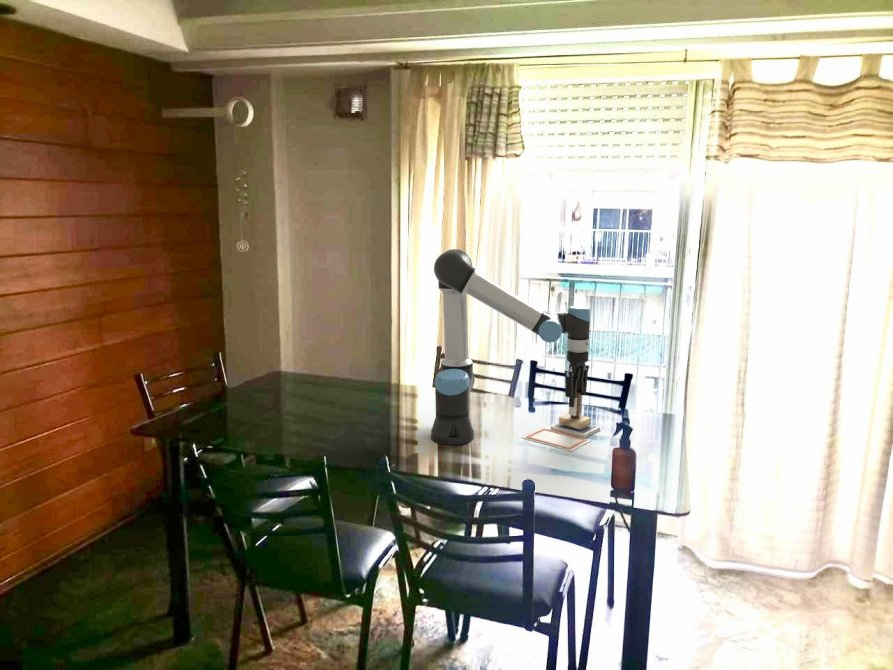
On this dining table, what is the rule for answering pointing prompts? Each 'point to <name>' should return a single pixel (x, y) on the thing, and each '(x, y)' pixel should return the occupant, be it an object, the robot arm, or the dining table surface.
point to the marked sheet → (556, 439)
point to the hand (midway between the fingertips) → (575, 413)
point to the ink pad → (576, 430)
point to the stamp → (575, 417)
